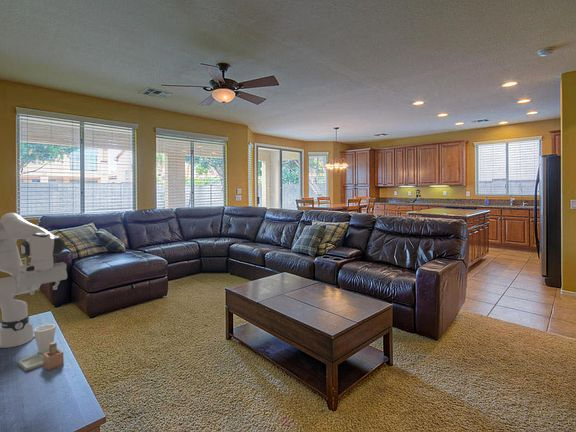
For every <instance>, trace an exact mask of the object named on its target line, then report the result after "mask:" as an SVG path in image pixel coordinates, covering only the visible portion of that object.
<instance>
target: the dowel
mask: <svg viewBox="0 0 576 432" xmlns="http://www.w3.org/2000/svg"><path fill="white" fill-rule="evenodd" d="M57 345H58V344H57V342H55V341H54V342H53V343H50V344H49V354H50V356H52V355H54V354H57V349H58V348H57V347H58V346H57Z"/></svg>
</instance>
